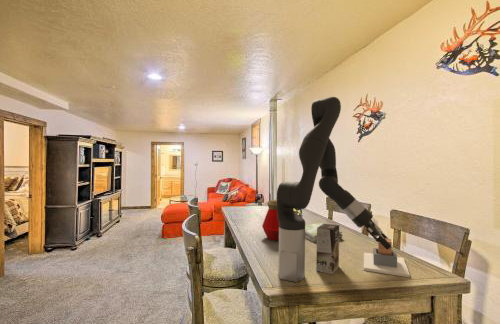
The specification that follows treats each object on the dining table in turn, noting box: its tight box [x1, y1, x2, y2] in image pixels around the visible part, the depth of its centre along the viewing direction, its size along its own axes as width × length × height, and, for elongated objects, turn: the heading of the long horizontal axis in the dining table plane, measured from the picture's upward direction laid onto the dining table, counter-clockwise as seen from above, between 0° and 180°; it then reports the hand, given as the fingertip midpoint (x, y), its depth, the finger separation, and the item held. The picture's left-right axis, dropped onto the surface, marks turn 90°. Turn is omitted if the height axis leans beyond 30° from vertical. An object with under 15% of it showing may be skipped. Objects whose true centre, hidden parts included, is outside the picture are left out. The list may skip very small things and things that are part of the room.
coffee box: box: [315, 223, 340, 275], centre depth 102 cm, size 9×6×16 cm
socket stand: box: [363, 247, 411, 278], centre depth 107 cm, size 18×15×5 cm
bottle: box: [262, 199, 279, 242], centre depth 141 cm, size 16×14×20 cm
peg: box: [377, 237, 393, 256], centre depth 106 cm, size 4×4×9 cm
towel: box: [305, 222, 343, 243], centre depth 147 cm, size 18×21×5 cm
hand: (388, 244), depth 106 cm, fingers open, 8 cm apart
